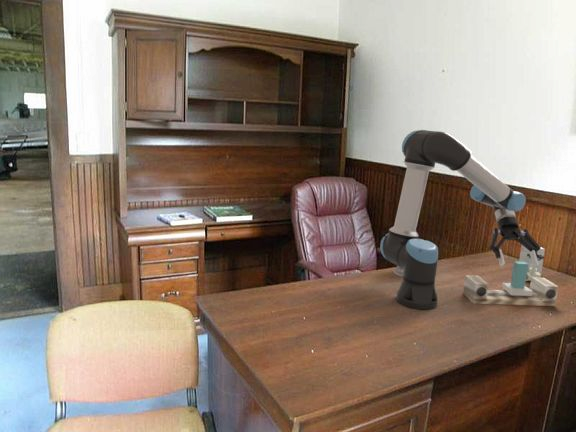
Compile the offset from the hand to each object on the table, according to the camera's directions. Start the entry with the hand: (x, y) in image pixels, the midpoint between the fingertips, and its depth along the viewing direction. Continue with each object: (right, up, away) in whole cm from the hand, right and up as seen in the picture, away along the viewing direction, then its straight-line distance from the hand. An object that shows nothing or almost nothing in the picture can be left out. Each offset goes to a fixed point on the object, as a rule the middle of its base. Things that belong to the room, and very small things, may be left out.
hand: (519, 265), depth 180 cm
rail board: (-5, -13, 0) cm, 14 cm away
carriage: (-1, -11, 0) cm, 11 cm away
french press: (-38, -7, +26) cm, 46 cm away
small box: (+22, -7, +34) cm, 41 cm away
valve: (+17, -10, +23) cm, 30 cm away
